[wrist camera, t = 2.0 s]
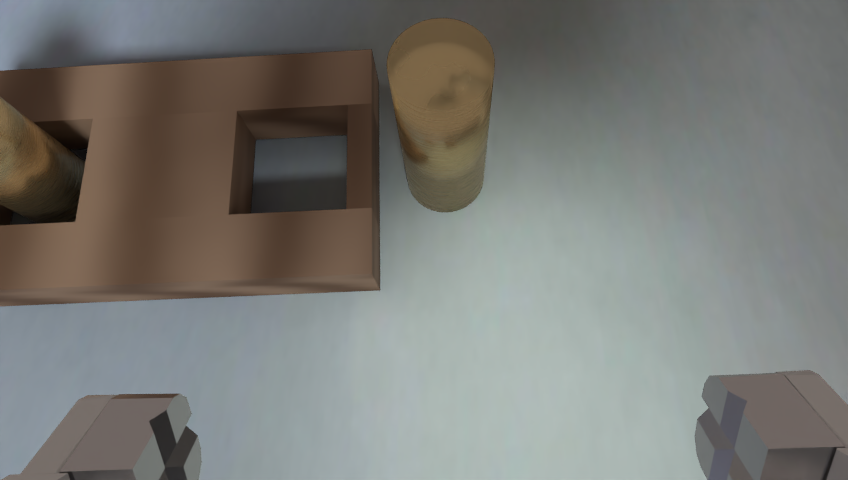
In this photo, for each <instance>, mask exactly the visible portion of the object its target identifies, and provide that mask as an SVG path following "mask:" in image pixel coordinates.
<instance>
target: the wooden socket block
mask: <svg viewBox="0 0 848 480" xmlns="http://www.w3.org/2000/svg"><path fill="white" fill-rule="evenodd" d="M0 97H1V98H2V99H4V100H5V101H6V102H7V103H9V104H10V105H11V106H13V107H14V108H15V109H17V110H18V111H19V112H20V113H22V114H23V115H24V116H26V117H27V118H28V119H30V120H31V121H32V122H34V123H35V124H36V125H37V126H39V127H40V128H41V129H43V130H44V131H45V132H47V133H48V134H49V135H50V136H52V137H53V138H54V139H56V140H57V141H58V142H60V143H61V144H62V145H63V146H65V147H66V148H67V149H86V148H88V150H87V156H86V162H85V168H84V174H83V179H82V185H81V191H80V197H79V203H78V209H77V215H76V221H75V222H63V223H42V224H21V225H10V223H11V219H12V214H13V210H11V209H9V208H7V207H5V206H3V205H1V204H0V306H19V305H42V304H66V303H89V302H113V301H137V300H160V299H184V298H208V297H231V296H255V295H279V294H302V293H326V292H350V291H373V290H380V201H379V82H378V77H377V72H376V68H375V63H374V58H373V54H372V49H369V50H351V51H334V52H317V53H300V54H282V55H265V56H248V57H230V58H213V59H196V60H179V61H161V62H144V63H127V64H110V65H92V66H75V67H58V68H41V69H23V70H6V71H0ZM334 135H347V202H346V209H336V210H315V211H294V212H273V213H252V214H251V201H252V187H253V172H254V158H255V143H256V140H258V139H277V138H296V137H315V136H334Z"/></svg>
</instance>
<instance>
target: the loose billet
mask: <svg viewBox="0 0 848 480" xmlns="http://www.w3.org/2000/svg"><path fill="white" fill-rule="evenodd" d="M494 67H495V59H494V53H493V50H492V47H491V45H490V43H489V42H488V40H487V39H486V37H485V36H484V35H483V34H482V33H481V32H480V31H479V30H477V29H476V28H474V27H473V26H471V25H469V24H467V23H465V22H462V21H459V20H455V19H449V18H436V19H429V20H425V21H422V22H419V23H417V24H415V25H413V26H411V27H409V28H408V29H406V30H405V31H404V32H403V33H401V34H400V35H399V37H398V38H397V39H396V40H395V41H394V43H393V45H392V46H391V48H390V51H389V54H388V58H387V73H388V79H389V84H390V89H391V95H392V100H393V105H394V111H395V116H396V121H397V127H398V132H399V137H400V143H401V148H402V153H403V159H404V164H405V169H406V175H407V180H408V185H409V189H410V191H411V193H412V195H413V196H414V198H415V199H416V200H417V201H418V202H419V203H420V204H421V205H423V206H424V207H426V208H428V209H431V210H433V211H437V212H453V211H457V210H460V209H462V208H464V207H466V206H468V205H469V204H470V203H472V202H473V201H474V200H475V198H476V197H477V196H478V194H479V193H480V191H481V188H482V185H483V179H484V169H485V159H486V148H487V138H488V128H489V118H490V108H491V97H492V87H493V77H494Z"/></svg>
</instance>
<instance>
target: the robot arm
mask: <svg viewBox="0 0 848 480" xmlns="http://www.w3.org/2000/svg"><path fill="white" fill-rule="evenodd" d="M702 398H703V400H704V401H705V403H706V404H707V406H708V409H707V410H706V411H705V412H704V413H703V414H702V415H701V416H700V417H699V418H698V419H697V424H696V431H695V444H696V453H697V457H698V460H699V463H700V466H701V468H702V470H703V472H704V474H705V476H706V478H707V480H848V405H847V404H846V403H845V402H844V401H843V400H842V398H841V397H840V396H839V395H838V394H837V393H836V392H835V391H834V390H833V389H832V388H831V387H830V386H829V385H828V384H827V383H826V381H825V380H824V379H823V378H822V377H821V376H820V375H818V374H817V373H815V372H813V371H810V370H804V371H786V372H776V373H763V374H738V375H713V376H709V377H708V379H707V380H706V382H705V383H704V388H703V393H702ZM191 414H192V413H191V410H190V407H189V403H188V400H187V397H185V396H183V395H181V394H119V395H88V396H86V397H83V398H81V399H79V400H78V401H77V402H76V404H75V405H74V406H73V407H72V409H71V410H70V411H69V412H68V414H67V415H66V416H65V418H64V419H63V420H62V421H61V423H60V424H59V425H58V427H57V428H56V429H55V430H54V432H53V433H52V434H51V436H50V437H49V438H48V439H47V441H46V442H45V443H44V444H43V446H42V447H41V448H40V450H39V451H38V452H37V453H36V455H35V456H34V457H33V459H32V460H31V461H30V462H29V464H28V465H27V466H26V468H25V469H24V470H23V471H22V473H21V474H19V475H9V476H7V477H5V478H4V479H2V480H199V475H200V469H201V463H202V460H201V447H200V443H199V439H198V435H196V434H195V433H194V432H193V431H192V430H190V429H189V428H188V427H187V426H186V425H187V423H188V420H189V418H190V416H191Z"/></svg>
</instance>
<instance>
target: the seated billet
mask: <svg viewBox="0 0 848 480" xmlns="http://www.w3.org/2000/svg"><path fill="white" fill-rule="evenodd" d="M84 168H85V162H84V161H83V160H82V159H80V158H79V157H78V156H77V155H75V154H74V153H73V152H71V151H70V150H69V149H67V148H66V147H65V146H63V145H62V144H61V143H60V142H58V141H57V140H56V139H54V138H53V137H52V136H50V135H49V134H48V133H47V132H45V131H44V130H43V129H41V128H40V127H39V126H37V125H36V124H35V123H34V122H32V121H31V120H30V119H28V118H27V117H26V116H24V115H23V114H22V113H20V112H19V111H18V110H17V109H15V108H14V107H13V106H11V105H10V104H9V103H7V102H6V101H5V100H4V99H2V98H1V97H0V204H1V205H3V206H5V207H7V208H9V209H11V210H13V211H14V212H16V213H18V214H20V215H22V216H24V217H26V218H28V219H29V220H31V221H33V222H35V223H37V224H42V223H63V222H75V221H76V215H77V209H78V203H79V197H80V191H81V185H82V179H83V174H84Z"/></svg>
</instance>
